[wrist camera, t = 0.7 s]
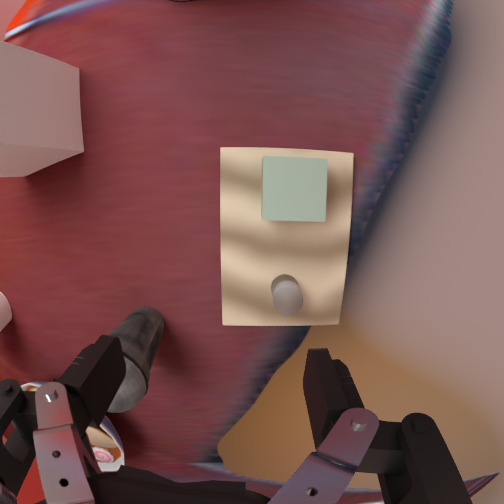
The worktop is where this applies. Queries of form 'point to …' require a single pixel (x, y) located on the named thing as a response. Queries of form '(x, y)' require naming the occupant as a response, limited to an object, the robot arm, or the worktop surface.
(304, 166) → the grey-green block
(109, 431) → the ramen bowl
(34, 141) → the milk
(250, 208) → the post board
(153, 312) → the beverage cup
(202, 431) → the worktop surface
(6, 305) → the foam cup
